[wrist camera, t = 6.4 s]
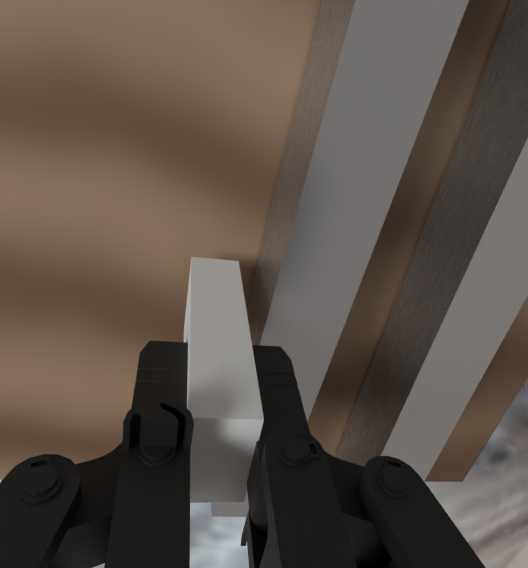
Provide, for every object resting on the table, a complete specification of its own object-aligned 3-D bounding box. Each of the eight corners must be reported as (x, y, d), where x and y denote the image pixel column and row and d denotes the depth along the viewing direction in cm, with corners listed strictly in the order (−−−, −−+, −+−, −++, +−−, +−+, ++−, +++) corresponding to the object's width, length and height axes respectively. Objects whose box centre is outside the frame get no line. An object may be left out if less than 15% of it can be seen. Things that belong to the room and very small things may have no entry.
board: (-252, -1064, 6) (-341, -1275, 5) (954, -398, 11) (1032, -438, 10) (-3, 456, 21) (-13, 479, 20) (452, 462, 26) (462, 481, 25)
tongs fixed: (423, -446, 9) (526, -643, 6) (734, -310, 10) (930, -418, 7) (230, 452, 21) (235, 519, 19) (381, 455, 23) (406, 517, 20)
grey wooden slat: (348, -109, 11) (393, -138, 9) (438, -78, 12) (506, -98, 9) (209, 452, 21) (211, 516, 18) (262, 455, 21) (270, 517, 19)
